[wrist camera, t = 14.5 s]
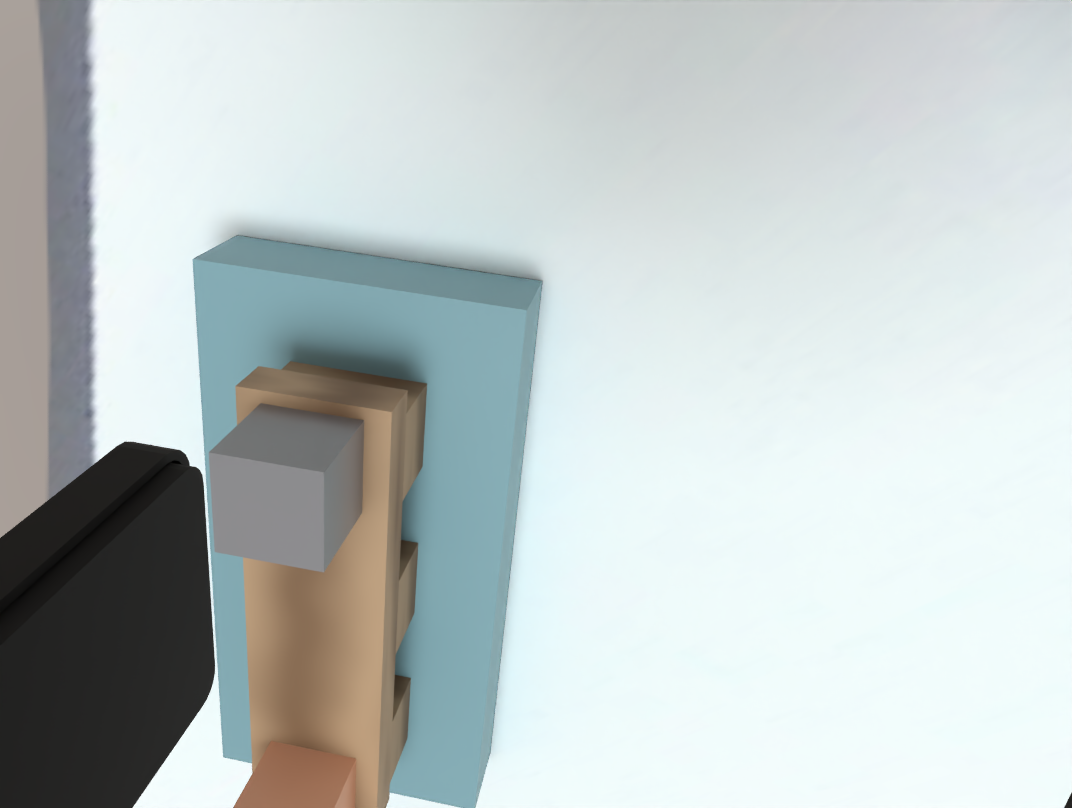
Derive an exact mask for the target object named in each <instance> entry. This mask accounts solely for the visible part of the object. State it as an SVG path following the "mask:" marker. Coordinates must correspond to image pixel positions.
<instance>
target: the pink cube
mask: <svg viewBox="0 0 1072 808" xmlns="http://www.w3.org/2000/svg"><path fill="white" fill-rule="evenodd" d="M355 792H356V758H351V757H347V756H342V755H337V754H332V753H327V752H323V751H318V750H313V749H308V748H303V747H299V746H294V745H289V744H284V743H279V742H274V741H271V742H270V744H269V746H268V747H267V749H266V751H265V753H264V754H263V756H262V758H261V760H260V761H259V763H258V765H257V767H256V768H255V770H254V772H253V774H252V775H251V777H250V779H249V781H248V783H247V784H246V786H245V788H244V790H243V791H242V793H241V795H240V797H239V798H238V800H237V802H236V804H235V805H234V807H233V808H355Z"/></svg>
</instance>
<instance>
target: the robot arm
mask: <svg viewBox="0 0 1072 808" xmlns="http://www.w3.org/2000/svg"><path fill="white" fill-rule="evenodd" d="M214 674H215V659H214V643H213V628H212V612H211V596H210V580H209V564H208V548H207V533H206V517H205V501H204V485H203V478H202V474H201V472H200V470H199V469H198V468H196V467H192V466H190V465H189V461H188V459H187V457H186V455H185V454H184V453H183V452H182V451H180V450H176V449H170V448H164V447H159V446H153V445H147V444H142V443H136V442H124V443H122V444H120V445H118V446H117V447H115V448H114V449H113V450H112V451H110V452H109V453H108V454H107V455H105V456H104V457H103V458H101V459H100V460H99V461H98V462H96V463H95V464H94V465H93V466H91V467H90V468H89V469H87V470H86V471H85V472H84V473H82V474H81V475H80V476H79V477H77V478H76V479H75V480H73V481H72V482H71V483H70V484H68V485H67V486H66V487H65V488H63V489H62V490H61V491H59V492H58V493H57V494H56V495H54V496H53V497H52V498H51V499H49V500H48V501H47V502H45V503H44V504H43V505H42V506H41V507H39V508H38V509H37V510H35V511H34V512H33V513H32V514H30V515H29V516H28V517H26V518H25V519H24V520H23V521H21V522H20V523H19V524H18V525H16V526H15V527H14V528H13V529H11V530H10V531H9V532H7V533H6V534H5V535H4V536H2V537H1V538H0V808H132V807H133V806H134V805H135V803H136V802H137V800H138V799H139V797H140V796H141V794H142V793H143V792H144V790H145V789H146V787H147V786H148V784H149V783H150V781H151V780H152V778H153V777H154V776H155V774H156V773H157V771H158V770H159V768H160V767H161V765H162V764H163V763H164V761H165V760H166V758H167V757H168V755H169V754H170V752H171V751H172V750H173V748H174V747H175V745H176V744H177V742H178V741H179V739H180V738H181V737H182V735H183V734H184V732H185V731H186V729H187V728H188V726H189V725H190V723H191V722H192V721H193V719H194V718H195V716H196V715H197V713H198V712H199V710H200V709H201V708H202V706H203V705H204V703H205V701H206V699H207V697H208V695H209V693H210V690H211V687H212V684H213V680H214ZM1064 808H1072V793H1071V795H1070V797H1069V799H1068V801H1067V803H1066V805H1065V807H1064Z"/></svg>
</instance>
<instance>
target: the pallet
mask: <svg viewBox="0 0 1072 808" xmlns="http://www.w3.org/2000/svg"><path fill="white" fill-rule="evenodd" d="M235 390H236V412H237V425H238V424H239V423H240V422H241V421H242V420H243V419H244V418H245V417H247V416H248V415H249V414H250V413H251V412H252V411H253V410H254V409H255V408H256V407H257V406H258V405H259V404H260V403H263V404H269V405H275V406H281V407H287V408H293V409H299V410H305V411H311V412H317V413H323V414H329V415H335V416H341V417H347V418H353V419H359V420H364V455H363V499H362V514H361V515H360V517H359V518H358V520H357V522H356V523H355V525H354V526H353V528H352V529H351V531H350V532H349V534H348V536H347V537H346V539H345V540H344V542H343V543H342V545H341V547H340V548H339V550H338V551H337V553H336V554H335V556H334V557H333V559H332V561H331V562H330V564H329V565H328V567H327V568H326V570H325V571H324V572H319V571H313V570H308V569H303V568H297V567H292V566H287V565H281V564H276V563H270V562H265V561H260V560H254V559H249V558H244V557H243V570H244V592H245V615H246V637H247V660H248V682H249V705H250V727H251V749H252V772H254V770H255V768H256V767H257V765H258V763H259V761H260V760H261V758H262V756H263V754H264V753H265V751H266V749H267V747H268V746H269V744H270V742H271V741H274V742H279V743H284V744H289V745H294V746H299V747H303V748H308V749H313V750H318V751H323V752H327V753H332V754H337V755H342V756H347V757H351V758H356V792H355V808H386V805H387V803H388V800H389V789H390V782H391V779H392V777H393V774H394V772H395V769H396V767H397V764H398V761H399V759H400V756H401V754H402V751H403V748H404V746H405V743H406V741H407V738H408V722H409V703H410V685H411V678H409V677H404V676H399V675H395V657H396V653H397V651H398V648H399V646H400V644H401V642H402V640H403V637H404V635H405V633H406V631H407V629H408V626H409V624H410V622H411V620H412V617H413V615H414V613H415V595H416V577H417V559H418V543H416V542H411V541H405V540H401V525H402V503H403V500H404V498H405V496H406V495H407V493H408V491H409V489H410V488H411V486H412V484H413V482H414V481H415V479H416V477H417V476H418V474H419V472H420V470H421V469H422V467H423V451H424V433H425V415H426V397H427V383H421V382H415V381H409V380H402V379H396V378H390V377H384V376H378V375H372V374H366V373H359V372H353V371H347V370H341V369H335V368H329V367H322V366H316V365H310V364H304V363H298V362H292V361H290V362H289V363H288V364H287V365H286V366H284V367H283V368H282V369H281V370H280V369H274V368H268V367H262V366H258V367H257V368H256V369H255V370H254V371H252V372H251V373H250V374H249V375H248V376H247V377H245V378H244V379H243V380H242V381H241V382H240V383H238V384H237V385H236V386H235Z"/></svg>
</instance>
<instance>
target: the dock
mask: <svg viewBox="0 0 1072 808" xmlns="http://www.w3.org/2000/svg"><path fill="white" fill-rule="evenodd" d="M193 272H194V289H195V305H196V321H197V337H198V354H199V370H200V386H201V403H202V419H203V435H204V451H205V468H206V484H207V500H208V516H209V533H210V549H211V565H212V582H213V598H214V614H215V630H216V647H217V663H218V679H219V696H220V712H221V728H222V744H223V757H225V758H230V759H234V760H239V761H244V762H248V763H252V749H251V727H250V705H249V682H248V660H247V637H246V615H245V592H244V570H243V557H238V556H233V555H228V554H222V553H217V552H215V549H214V532H213V516H212V499H211V483H210V467H209V452H210V451H211V450H212V449H213V448H214V447H215V446H216V445H217V444H218V443H219V442H220V441H221V440H222V439H223V438H224V437H225V436H226V435H228V434H229V433H230V432H231V431H232V430H233V429H234V428H235V427H236V426H237V412H236V390H235V386H236V385H237V384H238V383H240V382H241V381H242V380H243V379H244V378H245V377H247V376H248V375H249V374H250V373H251V372H252V371H254V370H255V369H256V368H257V367H258V366H262V367H268V368H274V369H280V370H281V369H282V368H283V367H284V366H286V365H287V364H288V363H289V362H290V361H292V362H298V363H304V364H310V365H316V366H322V367H329V368H335V369H341V370H347V371H353V372H359V373H366V374H372V375H378V376H384V377H390V378H396V379H402V380H409V381H415V382H421V383H427V397H426V415H425V433H424V451H423V467H422V469H421V470H420V472H419V474H418V476H417V477H416V479H415V481H414V482H413V484H412V486H411V488H410V489H409V491H408V493H407V495H406V496H405V498H404V500H403V503H402V525H401V540H405V541H411V542H416V543H418V559H417V577H416V595H415V613H414V615H413V617H412V620H411V622H410V624H409V626H408V629H407V631H406V633H405V635H404V637H403V640H402V642H401V644H400V646H399V648H398V651H397V653H396V657H395V675H399V676H404V677H409V678H411V685H410V703H409V722H408V738H407V741H406V743H405V746H404V748H403V751H402V754H401V756H400V759H399V761H398V764H397V767H396V769H395V772H394V774H393V777H392V779H391V782H390V789H389V792H390V793H395V794H400V795H404V796H409V797H414V798H419V799H423V800H428V801H433V802H438V803H442V804H447V805H452V806H456V807H461V808H475V807H476V803H477V800H478V796H479V792H480V789H481V785H482V781H483V778H484V774H485V770H486V767H487V763H488V759H489V756H490V750H491V741H492V732H493V723H494V714H495V705H496V696H497V687H498V678H499V669H500V660H501V651H502V642H503V633H504V624H505V615H506V606H507V597H508V587H509V578H510V569H511V560H512V551H513V542H514V533H515V524H516V515H517V506H518V497H519V488H520V479H521V470H522V461H523V452H524V443H525V434H526V425H527V416H528V407H529V398H530V389H531V380H532V371H533V362H534V353H535V344H536V334H537V325H538V316H539V307H540V298H541V289H542V281H539V280H532V279H525V278H518V277H512V276H505V275H498V274H492V273H485V272H478V271H472V270H465V269H458V268H452V267H445V266H438V265H432V264H425V263H418V262H412V261H405V260H398V259H392V258H385V257H378V256H372V255H365V254H358V253H351V252H345V251H338V250H331V249H325V248H318V247H311V246H305V245H298V244H291V243H285V242H278V241H271V240H265V239H258V238H251V237H245V236H238V235H237V236H235V237H233V238H231V239H229V240H227V241H226V242H224V243H222V244H220V245H218V246H216V247H214V248H212V249H211V250H209V251H207V252H205V253H203V254H201V255H199V256H197V257H196V258H194V259H193Z"/></svg>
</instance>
